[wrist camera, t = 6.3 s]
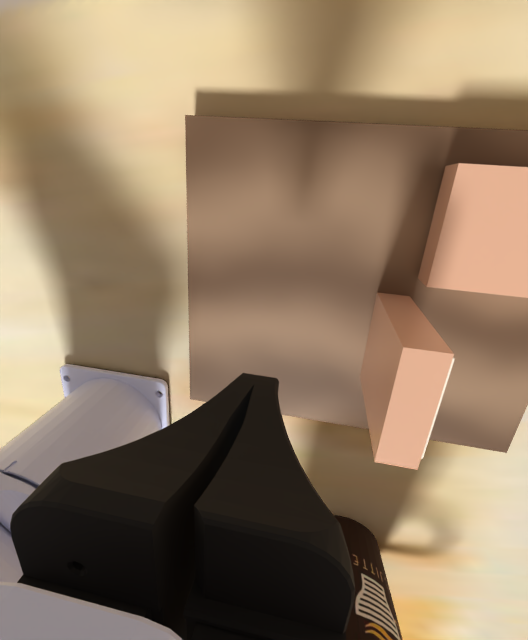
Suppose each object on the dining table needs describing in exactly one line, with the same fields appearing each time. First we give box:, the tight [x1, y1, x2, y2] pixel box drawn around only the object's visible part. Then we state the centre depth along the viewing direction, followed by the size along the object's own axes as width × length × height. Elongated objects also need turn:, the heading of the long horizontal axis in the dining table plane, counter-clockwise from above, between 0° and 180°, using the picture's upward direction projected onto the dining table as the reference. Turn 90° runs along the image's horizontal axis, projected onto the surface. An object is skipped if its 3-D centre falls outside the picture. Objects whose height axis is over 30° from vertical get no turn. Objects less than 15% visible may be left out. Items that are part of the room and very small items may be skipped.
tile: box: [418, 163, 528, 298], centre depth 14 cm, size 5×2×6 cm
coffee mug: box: [334, 516, 402, 640], centre depth 22 cm, size 12×9×10 cm
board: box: [185, 115, 528, 453], centre depth 18 cm, size 16×19×1 cm
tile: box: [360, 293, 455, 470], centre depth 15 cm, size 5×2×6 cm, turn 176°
